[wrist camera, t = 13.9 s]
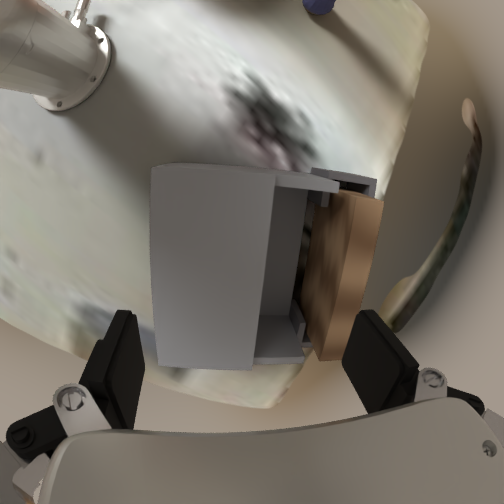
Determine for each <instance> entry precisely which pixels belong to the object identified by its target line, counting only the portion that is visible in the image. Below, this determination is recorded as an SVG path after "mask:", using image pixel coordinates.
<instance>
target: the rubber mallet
mask: <svg viewBox="0 0 504 504" xmlns="http://www.w3.org/2000/svg"><path fill="white" fill-rule="evenodd" d="M335 1H336V0H303V1H302V3H303V5H304V7H305V9H306V10H307V11H308V12H310V13H312V14H318V15H321V14H326V13H328V12H330V11H331V10H332V8H333V7H334V3H335Z"/></svg>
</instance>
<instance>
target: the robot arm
mask: <svg viewBox="0 0 504 504" xmlns="http://www.w3.org/2000/svg"><path fill="white" fill-rule="evenodd" d="M90 3H91V0H78V2H77V5H76V7H75V10H74V15H73V18H71V19H70V20H69V17H70V14H71V11H63V12H62V14H60V13H59V12H57V11H56V10H55V9H53V8H52V7H50V6H49V5H48V4H46V3H45V2H43V1H42V0H0V88H3V89H9V90H14V91H19V92H24V93H29V94H33V97H34V99H35V101H36V102H37V103H38V104H39V105H40V106H41V107H43V108H44V109H48V110H52V111H63V110H67V109H70V108H73V107H74V106H76V105H78V104H80V103H81V102H83V101H84V100H85V99H87V98H88V97H89V96H90V95H91V94H92V93H93V92H94V90H95V89H96V88H97V87H98V85H99V84H100V82H101V81H102V79H103V77H104V76H105V73H106V71H107V69H108V66H109V62H110V57H111V45H110V42H109V39H108V37H107V36H106V34H105V33H104V32H103V31H102V30H101V29H100V28H98V27H96V26H94V25H90V24H86V22H87V19H86V18H85V16H86V13H87V12H88V8H89V5H90ZM95 79H96V81H95ZM342 366H343V368H344V370H345V372H346V373H347V375H348V377H349V379H350V381H351V383H352V384H353V386H354V388H355V390H356V392H357V394H358V396H359V398H360V399H361V401H362V403H363V405H364V407H365V409H366V411H367V413H368V414H366V415H362V416H358V417H353V418H348V419H343V420H338V421H333V422H327V423H321V424H315V425H309V426H302V427H294V428H286V429H277V430H266V431H251V432H231V433H186V432H185V433H184V432H183V433H182V432H161V431H148V430H133V428H134V423H135V417H136V411H137V406H138V401H139V396H140V391H141V386H142V381H143V376H144V372H145V362H144V357H143V352H142V346H141V341H140V335H139V329H138V323H137V317H136V315H135V314H132V312H131V311H130V310H117V311H116V313H115V316H114V318H113V320H112V322H111V324H110V326H109V328H108V331H107V333H106V335H105V337H104V339H103V340H100V339H99V340H98V341H97V342H96V344H95V347H94V349H93V351H92V353H91V355H90V358H89V360H88V362H87V364H86V367H85V369H84V372H83V374H82V376H81V379H80V381H79V384H76V383H70V384H66V385H64V386H61V387H60V388H59V389H57V390H56V392H55V394H54V395H53V404H54V405H52V406H50V407H48V408H45V409H43V410H41V411H39V412H37V413H34V414H32V415H30V416H28V417H26V418H23V419H21V420H18V421H16V422H14V423H13V424H11V425H10V427H9V428H8V430H7V433H6V441H5V442H4V443H2V442H1V441H0V504H35V503H34V500H33V493H34V491H35V489H36V488H37V487H38V486H39V485H40V483H39V481H40V480H41V479H42V478H43V482H42V486H41V490H40V495H39V500H38V504H504V418H503V417H501V416H499V415H498V414H496V413H494V412H493V411H491V410H489V409H487V410H486V411H485V408H484V404H483V402H482V401H481V400H480V398H479V397H477V396H475V395H472V394H469V393H466V392H463V391H460V390H457V389H454V388H451V387H448V386H447V379H446V377H445V376H444V374H443V373H442V372H440V371H439V370H436V369H434V368H424V369H422V370H421V371H419V370H418V367H419V364H418V362H417V361H416V360H415V359H414V357H413V356H412V355H411V354H410V353H409V351H408V350H407V349H406V348H405V346H403V344H402V343H401V342H400V340H399V339H398V338H397V337H396V336H395V334H394V333H393V332H392V331H391V330H390V328H389V327H388V326H387V325H386V324H385V323H384V321H383V320H382V319H381V318H380V317H379V316H378V314H377V313H376V312H375V311H374V310H361V311H360V312H359V314H357V315H356V317H355V320H354V323H353V327H352V330H351V333H350V336H349V339H348V342H347V345H346V348H345V351H344V354H343V357H342Z"/></svg>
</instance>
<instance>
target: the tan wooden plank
mask: <svg viewBox="0 0 504 504" xmlns="http://www.w3.org/2000/svg"><path fill="white" fill-rule="evenodd" d="M383 206H384V202H383V201H381V200H378V199H375V198H372V197H370V196H367V195H364V194H361V193H358V192H355V191H352V190H350V189H347V188H344V187H341V186H339V191H338V193H332V192H330V196H329V203H328V207H321V206H319V205H317V204H315V210H314V217H313V224H312V230H311V237H310V243H309V249H308V255H307V261H306V267H305V273H304V279H303V284H302V290H301V295H300V300H299V306H298V307H299V309H300V311H301V313H302V315H303V317H304V319H305V322H306V326H305V330H306V332H307V334H308V337H309V339H310V341H311V343H312V346H313V348H314V350H315V352H316V354H317V357H318V359H319V361H331V360H342V357H343V354H344V351H345V348H346V345H347V342H348V339H349V336H350V333H351V330H352V327H353V323H354V320H355V317H356V315H357V314H358V313H359V309H360V306H361V303H362V299H363V295H364V292H365V288H366V284H367V280H368V276H369V272H370V268H371V264H372V260H373V256H374V251H375V247H376V242H377V237H378V232H379V228H380V222H381V217H382V212H383Z"/></svg>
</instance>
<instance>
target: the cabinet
mask: <svg viewBox="0 0 504 504" xmlns="http://www.w3.org/2000/svg"><path fill="white" fill-rule="evenodd" d="M332 179H335V180H341V181H347V189H350V190H352V191H355V192H358V193H361V194H364V195H367V196H370V197H372V198H374V196H375V190H376V183H377V179H373V178H369V177H365V176H360V175H356V174H350V173H345V172H339V171H332V170H326V169H319V168H313V167H312V170H311V174H309V173H301V172H293V171H285V170H276V169H266V168H256V167H245V166H232V165H218V164H201V163H177V162H173V163H168V164H164V165H159V166H154V167H151V183H150V267H151V288H152V304H153V317H154V328H155V338H156V347H157V356H158V364H159V366H170V367H182V368H196V369H216V370H252V365H253V364H298V363H303V362H304V359H305V356H304V353H303V350H302V347H313V346H312V343H311V341H310V339H309V337H308V334H307V332H306V330H305V326H306V322H305V319H304V317H303V315H302V313H301V311H300V309H299V307H298V305H297V303H296V300H295V299H292V294H293V288H294V283H295V277H296V271H297V265H298V258H299V252H300V246H301V239H302V232H303V225H304V218H305V211H306V204H307V199H309V200H310V201H312V202H314V203H315V204H317V205H319V206H321V207H328V203H329V196H330V192H332V193H338V191H339V184H340V182H337V181H333V180H332Z"/></svg>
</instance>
